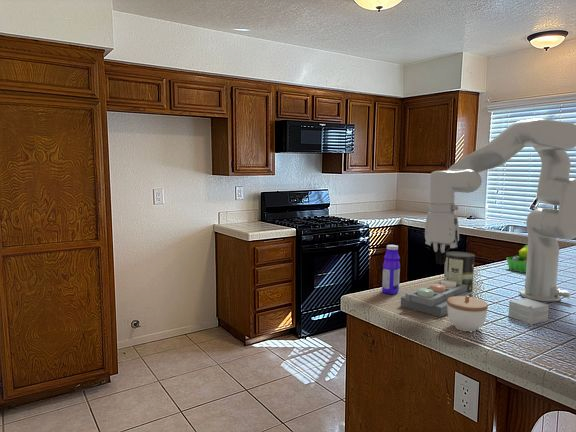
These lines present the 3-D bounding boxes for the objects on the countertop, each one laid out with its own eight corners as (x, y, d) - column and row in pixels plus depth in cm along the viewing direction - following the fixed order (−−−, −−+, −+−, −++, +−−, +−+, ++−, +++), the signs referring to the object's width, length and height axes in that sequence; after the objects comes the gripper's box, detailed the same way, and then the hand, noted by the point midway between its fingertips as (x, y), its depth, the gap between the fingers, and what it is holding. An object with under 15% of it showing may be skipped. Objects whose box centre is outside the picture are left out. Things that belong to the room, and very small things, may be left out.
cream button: (458, 290, 147) (458, 281, 147) (451, 293, 144) (452, 284, 143) (444, 287, 151) (445, 279, 151) (437, 289, 147) (438, 281, 147)
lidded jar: (483, 338, 114) (485, 304, 113) (441, 329, 119) (443, 297, 118) (488, 325, 123) (490, 294, 122) (449, 318, 128) (451, 288, 127)
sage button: (436, 299, 136) (436, 290, 136) (428, 303, 133) (428, 293, 133) (421, 296, 140) (422, 287, 140) (414, 299, 136) (414, 290, 136)
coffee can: (469, 288, 161) (471, 251, 160) (475, 296, 151) (477, 257, 150) (440, 286, 163) (442, 250, 162) (445, 294, 153) (447, 256, 152)
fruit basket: (504, 268, 194) (506, 244, 193) (517, 266, 198) (519, 242, 196) (527, 274, 184) (529, 248, 182) (540, 272, 187) (542, 247, 186)
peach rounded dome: (447, 294, 142) (448, 286, 141) (440, 297, 138) (441, 289, 138) (433, 291, 145) (434, 283, 145) (426, 294, 142) (426, 285, 142)
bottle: (386, 288, 160) (387, 243, 158) (400, 291, 157) (402, 244, 155) (379, 293, 154) (381, 246, 152) (395, 296, 151) (396, 247, 149)
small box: (524, 313, 134) (525, 297, 134) (548, 321, 127) (549, 304, 127) (507, 316, 131) (508, 300, 131) (531, 325, 124) (532, 308, 123)
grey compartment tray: (473, 300, 146) (474, 286, 145) (438, 318, 129) (439, 302, 128) (435, 292, 156) (435, 278, 155) (398, 307, 139) (398, 292, 138)
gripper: (469, 208, 136) (468, 264, 138) (426, 206, 147) (425, 258, 149) (458, 211, 131) (457, 269, 133) (415, 208, 141) (414, 262, 144)
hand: (440, 263), depth 141 cm, fingers closed
